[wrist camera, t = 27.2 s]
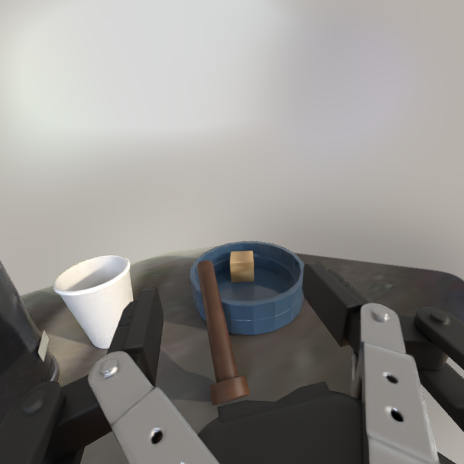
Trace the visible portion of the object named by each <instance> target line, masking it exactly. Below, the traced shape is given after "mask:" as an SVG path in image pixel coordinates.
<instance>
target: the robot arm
mask: <svg viewBox="0 0 464 464" xmlns="http://www.w3.org/2000/svg"><path fill="white" fill-rule="evenodd" d="M302 291H303V295H304V297H305V299H306V300H307V301H308V303H309V304H310V306H311V307H312V308H313V310H314V311H315V312H316V314H317V315H318V316H319V318H320V319H321V321H322V322H323V323H324V325H325V326H326V327H327V329H328V330H329V332H330V333H331V334H332V336H333V337H334V338H335V340H336V341H337V343H338V344H339V345H340V347H342V346H347V345H350V346H351V347H352V348H353V349H352V359H351V390H350V396H349V395H347V394H343V393H340V392H335V391H330V390H329V388H328V386H327V385H326V383H325V382H321V383H317V384H312V385H308V386H304V387H300V388H298V389H296V390H295V391H293V392H291V393H290V394H288V395H286V396H285V397H283V398H281V399H280V400H278V401H275V402H267V401H247V400H245V401H241V402H236V403H232V404H228V405H224V406H220V407H218V415H219V417H218V418H216V419H214V420H213V421H212V422H210V423H209V424H208V425H206V426H205V427H204V428H203V429H202V430H201V431H200V433H199V434H198V435H197V434H196V433H195V432H194V431H193V429H192V428H191V427H190V426H189V424H188V423H187V422H186V421H185V419H184V418H183V417H182V415H181V414H180V413H179V412H178V410H177V409H176V408H175V407H174V405H173V404H172V403H171V402H170V400H169V399H168V398H167V397H166V395H165V394H164V393H163V392H162V390H161V389H160V388H159V387H158V386H155V382H156V374H157V367H158V359H159V352H160V344H161V337H162V329H163V310H162V306H161V302H160V298H159V294H158V290H157V288H156V287H155V288H149V289H142V290H140V293H139V296H138V300H137V301H131V302H130V303H129V304H128V305H127V306H126V307H125V308H124V309H123V312H122V315H121V317H120V320H119V323H118V325H117V326H118V327H117V328H116V330H115V333H114V336H113V338H112V341H111V344H110V346H109V349H108V352H107V354H106V356H104V357H102V358H101V359H100V360H98V361H97V362H96V363H95V364H94V366H93V367H92V368H91V370H90V372H89V374H88V375H87V376H85V377H83V378H81V379H79V380H76V381H74V382H72V383H70V384H68V385H66V386H64V387H61V386H60V385H59V383H57V380H58V376H59V365H58V363H57V361H56V359H55V357H54V356H53V355H52V354H51V352H50V351H49V349H48V347H47V345H48V341H49V338H48V336H47V335H46V333H45V331H44V332H43V335H41V334H40V332H39V330H38V328H37V326H36V325H35V323H34V321H33V319H32V317H31V315H30V314H29V312H28V310H27V308H26V306H25V304H24V303H23V301H22V299H21V297H20V295H19V293H18V292H17V290H16V288H15V286H14V284H13V282H12V281H11V279H10V277H9V275H8V273H7V272H6V270H5V268H4V266H3V264H2V263H1V261H0V464H80V462H81V459H82V455H83V452H84V448H85V446H87V445H89V444H90V443H92V442H94V441H96V440H97V439H99V438H101V437H102V436H104V435H106V434H108V433H109V432H111V431H113V433H114V435H115V437H116V439H117V441H118V443H119V445H120V447H121V449H122V451H123V453H124V455H125V457H126V459H127V461H128V463H129V464H455V463H454V462H452V461H451V460H449V459H448V458H446V457H445V456H443V455H442V454H440V453H439V452H437V451H436V446H435V442H434V438H433V434H432V430H431V426H430V421H429V417H428V413H427V409H426V405H425V401H424V396H423V392H422V388H421V384H422V385H423V386H424V387H425V389H426V390H427V391H428V392H429V393H430V394H431V395H432V397H433V398H434V399H435V400H436V401H437V402H438V403H439V404H440V406H441V407H442V408H443V409H444V410H445V411H446V412H447V413H448V415H449V416H450V417H451V418H452V419H453V420H454V421H455V423H456V424H457V425H458V426H459V427H460V428H461V429H462V431H463V432H464V379H463V378H462V377H461V376H460V375H459V374H458V373H457V372H456V371H455V370H454V369H453V368H452V367H451V366H449V365H448V364H447V363H446V361H447V359H448V357H450V358H451V359H452V360H453V361H454V362H456V363H457V364H458V365H459V366H460V367H461V368H462V369H463V370H464V323H463V322H461V321H460V320H458V319H457V318H456V317H454V316H453V315H451V314H449V313H448V312H446V311H443V310H441V309H438V308H434V307H421V308H419V309H418V310H417V313H416V316H407V315H397V314H396V313H395V312H394V311H392V310H391V309H389V308H388V307H386V306H383V305H380V304H375V303H370V302H369V301H368V300H366V299H365V298H364V297H363V296H362V295H361V294H360V293H359V292H358V291H357V290H355V289H354V288H353V287H352V286H350V284H349V283H348V282H347V281H345V280H344V279H343V278H342V277H341V276H340V275H339V274H337V273H335V272H333V271H331V270H327V269H326V268H325V267H324V266H323V265H321V264H320V263H319V262H317V263H310V264H305V265H304V268H303V281H302ZM420 383H421V384H420ZM153 386H155V387H153Z"/></svg>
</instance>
